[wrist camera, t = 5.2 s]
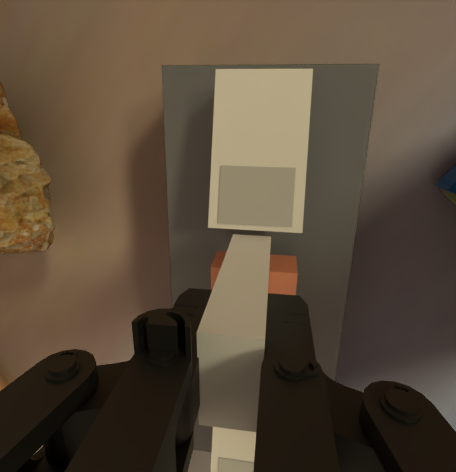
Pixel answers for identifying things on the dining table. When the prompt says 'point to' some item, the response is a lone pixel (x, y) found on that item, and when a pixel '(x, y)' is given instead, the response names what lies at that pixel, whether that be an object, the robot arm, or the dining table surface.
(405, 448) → the robot arm
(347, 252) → the power strip
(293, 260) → the block
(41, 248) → the rock
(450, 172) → the blue food package
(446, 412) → the dining table surface
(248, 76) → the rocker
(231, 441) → the block
